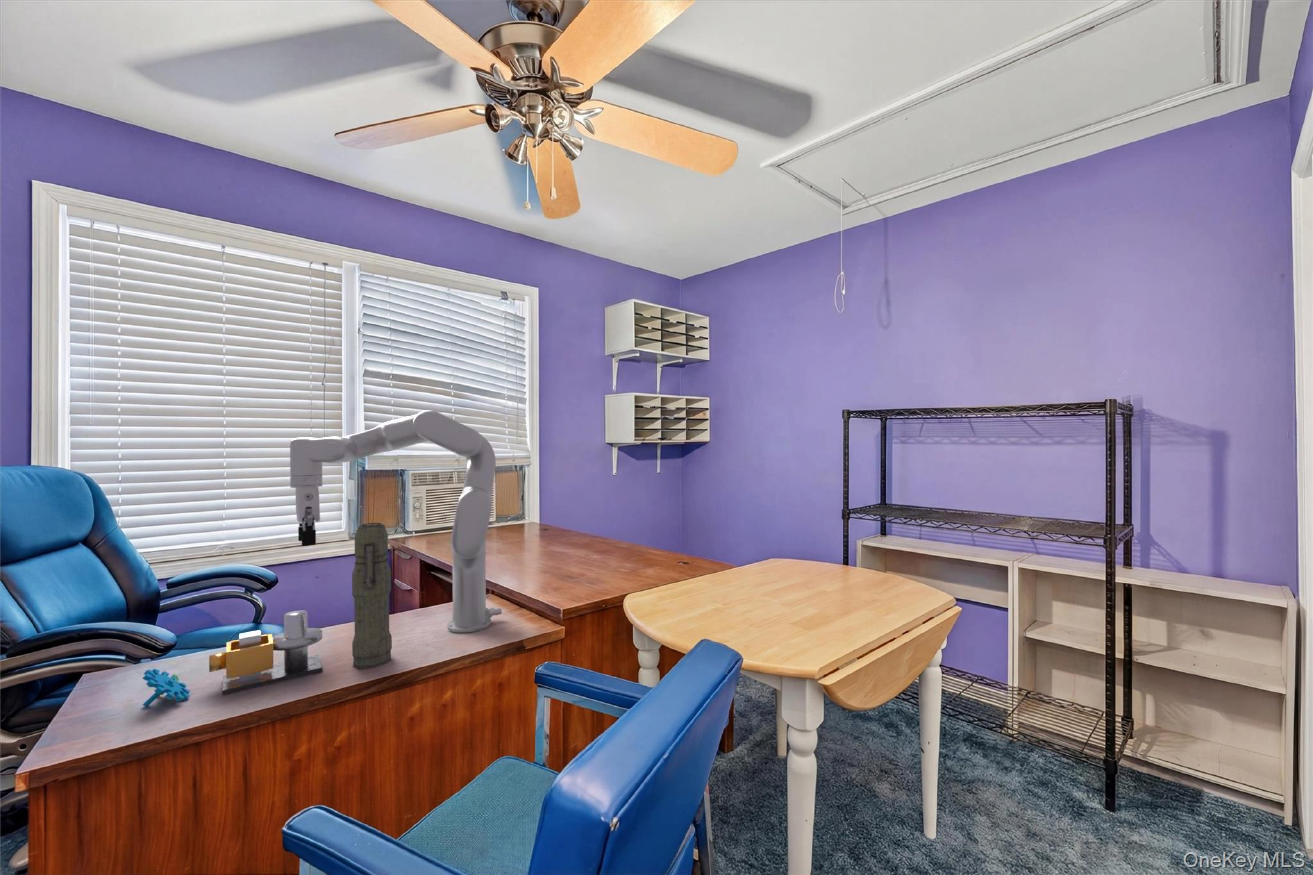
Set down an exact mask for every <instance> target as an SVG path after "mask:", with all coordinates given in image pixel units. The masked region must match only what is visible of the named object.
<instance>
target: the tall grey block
mask: <svg viewBox="0 0 1313 875" xmlns="http://www.w3.org/2000/svg"><path fill="white" fill-rule="evenodd" d="M238 635H239V636H238V637H239V638H238V640H239V649H243V648H248V647H253V646H258V645H261V635H262V632H261V630H260V629H259V630H253V631H248V632H242V633H239V634H238ZM260 677H261V672H259V673H254V674H250V675H245V676H241V677H239V682H242V681H247V680H251V679H255V678H260Z"/></svg>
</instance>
